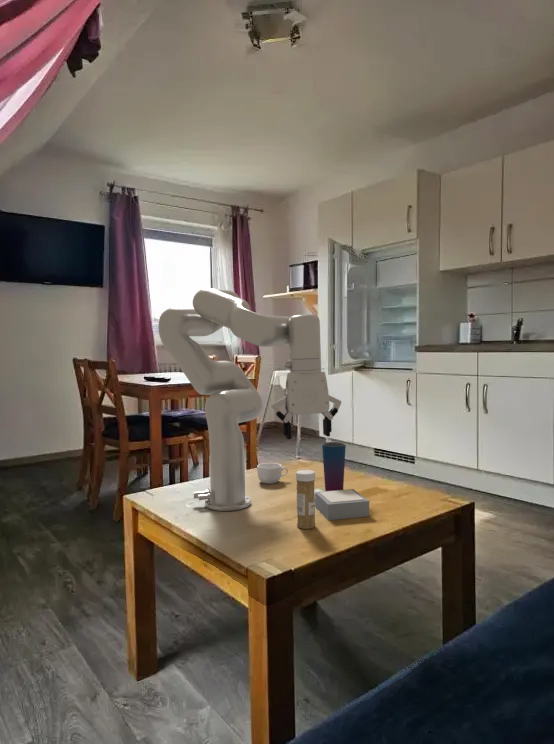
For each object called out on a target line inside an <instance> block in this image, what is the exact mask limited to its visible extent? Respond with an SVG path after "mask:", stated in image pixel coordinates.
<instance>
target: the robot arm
mask: <svg viewBox="0 0 554 744" xmlns="http://www.w3.org/2000/svg"><path fill="white" fill-rule="evenodd" d="M223 327H225V328H227V329H230V332H231V333H232V335H234V336H236V338H238V339H241V340H242V341H246V342H247V343H250V344H252V345H255V346H259V347H263V348H264V347H267V348H269V347H289V349H288V350H289V359H288V361H286V362H284V363H283V368H284V369H289V372H287V375H286V379H285V392H284V394H285V395H284V396H283V397H282V398H280V399H277V401H275V402H273V403H272V404H271V405H270V406H271V409H272V410H273V412H274V414H275V416H277V418H278V419H279V420H280V421H282V433H283V436H285V438H286V439H287V440H291V439H292V423H291V421H290V420H291V419H292V418H293V416H294V415H296V416H297V415H298V416H299V415H300V416H301V415H312V414H314V415H315V414H322V415H323V417H324V418H322V434H323V436H326V437H330V436H331V433H332V420H334V419H333V418H334V417H335V416H336V415H337V413H338V412H339V409H340V407H341V405H342V400H340V399H338V398H336V397H334V396H333V395H330V393H329V387H328V380H327V375H326V371H322V355H321V353H322V352H321V349H322V348H321V346H322V345H321V322H320V318H319V316H317V315H315V314H296V315H292V316H286V315H285V316H282V315H268V314H267V315H265V314H261V313H258V312H254V311H252V310H251V307H250V304H249V303H248V301H246V300H245V299H242V298H240V296H239V295H238V294H237V293H236V292H235V291H232V290H230V289H222V288H213V287H212V288H210V287H207V288H206V287H205V288H202V289H200V290H198V291H197V292H196V293H195V294H194V296H193V298H192V306H191V307H189V306H175V307H170V308H168V309H165V310H164V311H163V312H162V313H161V314H160V316H159V319H158V334H159V338H160V341H161V343H162V345H163V347H164V348H165V350H166V351H167V353H168V354H169V355H170V356H171V357H172V359H174V361H175V362H176V363H177V365H178V366H179V368H180V369H181V371H182V373H183V374H184V375H185V377H186V378H187V380H188V381H189V383H190V384H191V386H192V387H193V389H194V391H195V392H197V393H198V394H199V395H203V396H208V397H207V399H206V401H205V404H204V413H205V414H204V415H205V419H206V422H207V423H206V424H207V428H208V440H209V441H208V443H209V445H208V446H209V475H210V476H209V480H210V481H209V483H210V486H208V487H207V488H208V489H204V491H202V490H201V491H200V490H199V491H198V490H197V491H193V499H198V501H204V506H205V507H206V508H208V509H209V510H212V511H219V512H229V511H238V510H242V509H245V508H248V506H250V505H251V504H252V501H251V500H252V499H251V497H250V496H248V495H246V471H245V467H246V466H245V439H244V438H245V437H244V435H243V433H242V430H241V428H240V426H239V424H241V423H245V422H250V421H253V420H256V419H257V418H259V416H260V415H261V414H262V412H263V400H262V397H261V395H260V393H259V391H258V390H257V388H255V386H254V384H253V383H252V382H251V380H250V379H249V378H248V376H247V375H246V373H245V372H244V371H243V369H242V368H241V367H240V366H239V365H238V364H237V363H235V362H232V361H230V360H214V359H212V358H211V357H210V356H209V354H207V352H206V350H205V348H203V346H201V345H200V344H199V342H197V341H196V340H194V339H192V338H191V337H207V336H210V335H212V334H215V333H217V332H218V331H219V330H220V329H222V328H223ZM330 403H331V404H333V405H332V407H331V408H330ZM283 405H284V407H285V413H284V414H283V412H281V409H280V407H281V406H283Z"/></svg>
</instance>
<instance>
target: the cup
mask: <svg viewBox="0 0 554 744" xmlns="http://www.w3.org/2000/svg"><path fill="white" fill-rule="evenodd" d="M346 445H347V444H346V443H345V442H340V441H326V442H323V443H321V447H322V448H321V450H322V462H323V478H324V489H325V490H324V491H335V490H344V486H345V485H344V484H345V483H344V482H345V465H346Z"/></svg>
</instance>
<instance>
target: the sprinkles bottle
mask: <svg viewBox="0 0 554 744" xmlns="http://www.w3.org/2000/svg"><path fill="white" fill-rule="evenodd" d="M295 479H296V515H297V517H296V518H297V523H296V526H297V527H298V528H299V529H303V530H310V529H314V528H315V526H316V507H315V480H316V471H314V470H312V469H300V470H297V471H296V474H295Z"/></svg>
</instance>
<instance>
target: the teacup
mask: <svg viewBox="0 0 554 744" xmlns="http://www.w3.org/2000/svg"><path fill="white" fill-rule="evenodd" d="M256 468H257V469H256V471H257V477H258V480H259V481H260V482H261V483H263V484H264V483H265V484H266V485H273V484H277V483H278V482H279V481H280V479H281V478H282V477H284V476H286V475H287V474H288V473H289V471H288V468H287V467H286V466H283V465H282V464H281V463H277V462H262V463H259V464H258V465H256ZM283 470H286V472H285V473H283V474H282V472H283Z"/></svg>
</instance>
